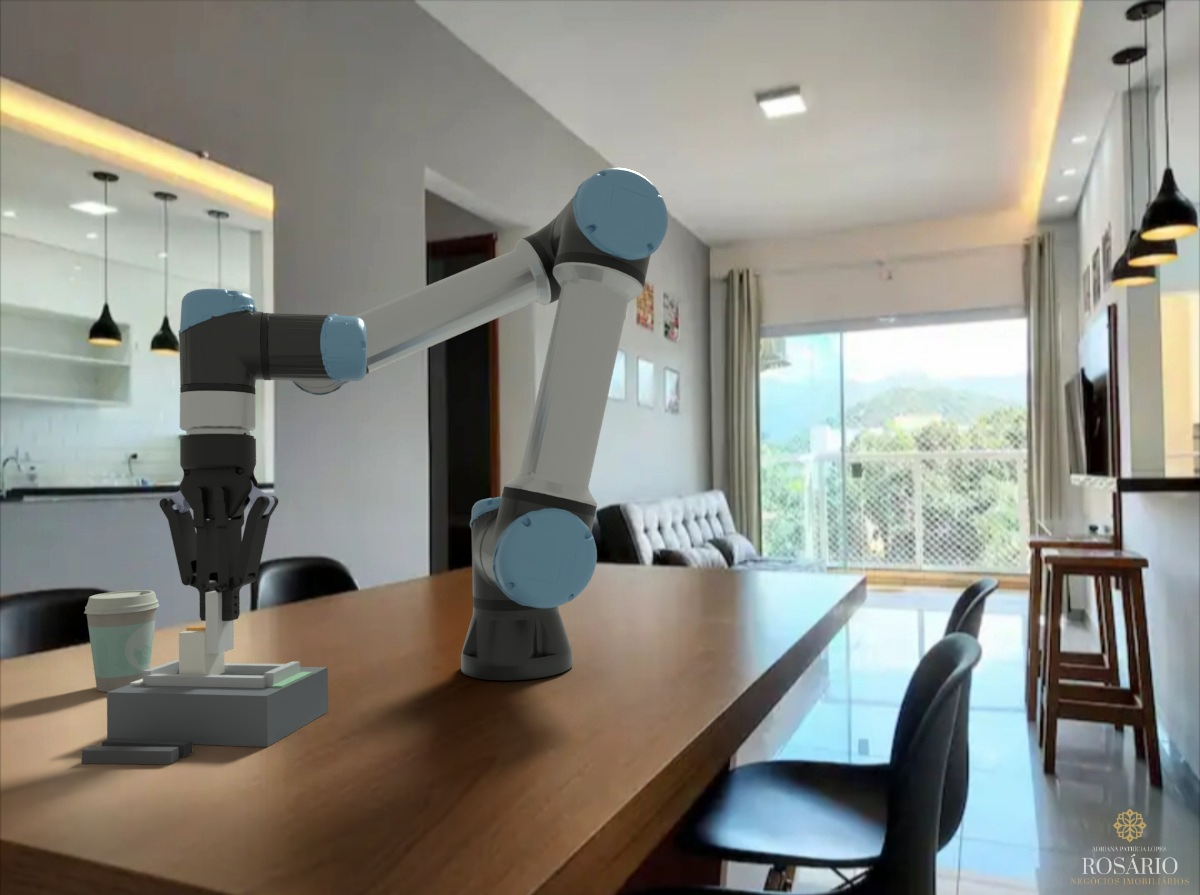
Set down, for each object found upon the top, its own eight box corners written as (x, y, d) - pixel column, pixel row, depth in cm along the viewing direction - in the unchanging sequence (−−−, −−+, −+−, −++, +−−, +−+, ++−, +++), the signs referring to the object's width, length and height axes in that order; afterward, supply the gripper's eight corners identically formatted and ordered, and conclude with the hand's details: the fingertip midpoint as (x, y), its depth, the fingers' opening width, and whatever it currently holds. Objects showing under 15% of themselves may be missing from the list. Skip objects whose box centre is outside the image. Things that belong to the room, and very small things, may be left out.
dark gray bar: (178, 759, 78) (178, 746, 78) (171, 764, 77) (170, 751, 77) (90, 758, 79) (90, 746, 79) (81, 763, 78) (81, 750, 78)
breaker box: (328, 711, 93) (327, 654, 93) (267, 746, 81) (266, 681, 81) (185, 708, 96) (185, 653, 96) (107, 741, 84) (106, 678, 84)
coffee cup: (126, 696, 102) (125, 599, 102) (68, 694, 104) (67, 599, 104) (174, 678, 110) (173, 589, 111) (120, 677, 112) (119, 589, 113)
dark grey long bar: (192, 752, 80) (192, 740, 80) (184, 757, 78) (184, 744, 79) (110, 750, 81) (110, 737, 81) (101, 754, 80) (101, 741, 80)
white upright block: (224, 672, 90) (224, 624, 91) (204, 680, 87) (204, 630, 87) (200, 671, 91) (199, 623, 91) (179, 679, 88) (178, 629, 88)
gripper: (292, 433, 92) (294, 644, 91) (187, 436, 94) (188, 643, 93) (253, 429, 85) (254, 659, 84) (140, 433, 87) (141, 658, 86)
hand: (219, 650), depth 89 cm, fingers closed
